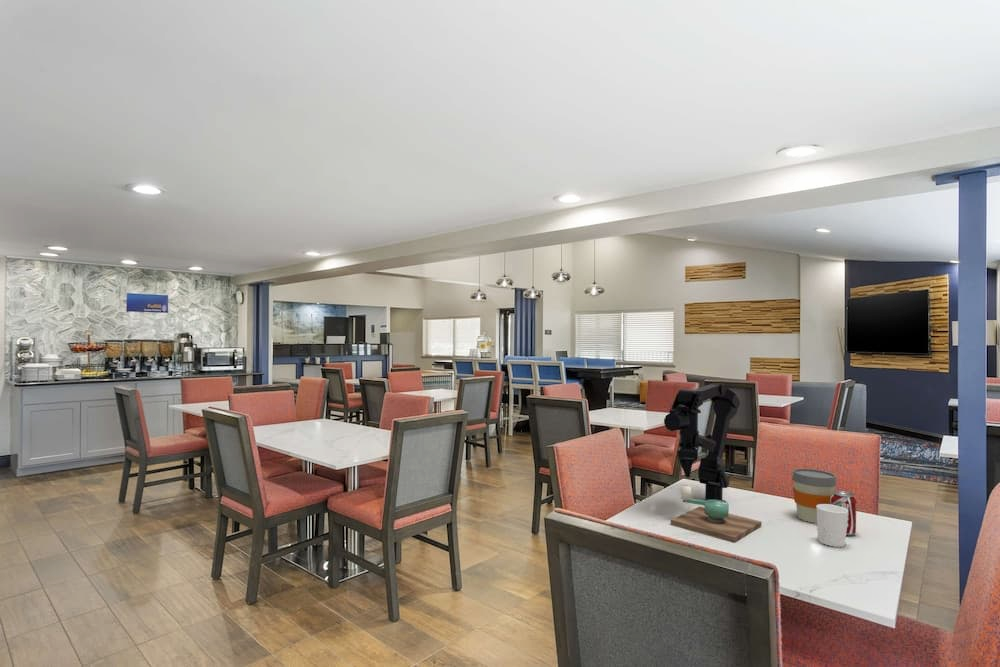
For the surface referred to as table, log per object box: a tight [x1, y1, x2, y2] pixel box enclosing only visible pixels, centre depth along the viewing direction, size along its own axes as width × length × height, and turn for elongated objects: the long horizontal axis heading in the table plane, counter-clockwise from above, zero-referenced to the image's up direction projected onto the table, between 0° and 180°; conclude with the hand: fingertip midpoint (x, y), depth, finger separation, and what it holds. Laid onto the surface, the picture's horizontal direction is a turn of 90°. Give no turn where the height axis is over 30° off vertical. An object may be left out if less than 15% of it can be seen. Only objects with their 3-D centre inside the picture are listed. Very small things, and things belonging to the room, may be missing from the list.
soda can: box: [830, 490, 857, 536], centre depth 168 cm, size 7×7×12 cm
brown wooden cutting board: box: [670, 505, 763, 543], centre depth 172 cm, size 20×20×3 cm
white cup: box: [816, 504, 848, 548], centre depth 159 cm, size 8×8×10 cm
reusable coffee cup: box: [792, 468, 837, 524], centre depth 180 cm, size 13×13×15 cm
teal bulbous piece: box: [680, 484, 730, 518], centre depth 174 cm, size 14×7×8 cm, turn 65°
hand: (688, 473), depth 185 cm, fingers open, 9 cm apart
